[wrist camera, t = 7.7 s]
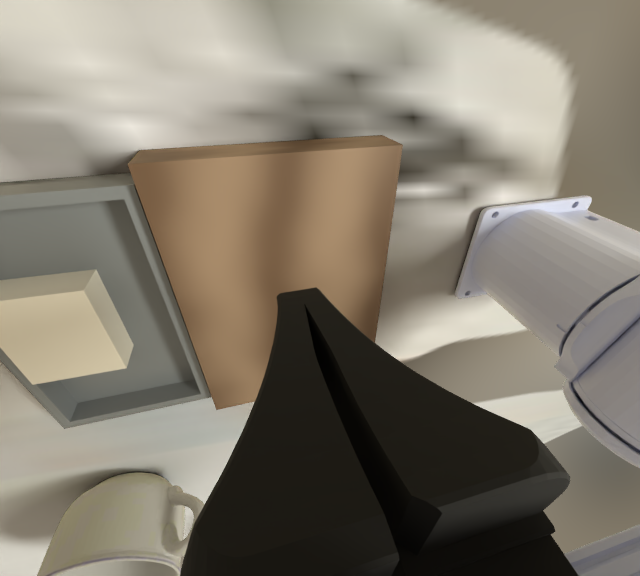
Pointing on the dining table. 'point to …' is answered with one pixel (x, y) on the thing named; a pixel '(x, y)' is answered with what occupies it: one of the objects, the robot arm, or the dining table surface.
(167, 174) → the board
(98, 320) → the tile
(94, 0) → the dining table surface
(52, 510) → the dining table surface
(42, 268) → the tray
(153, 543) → the teacup
